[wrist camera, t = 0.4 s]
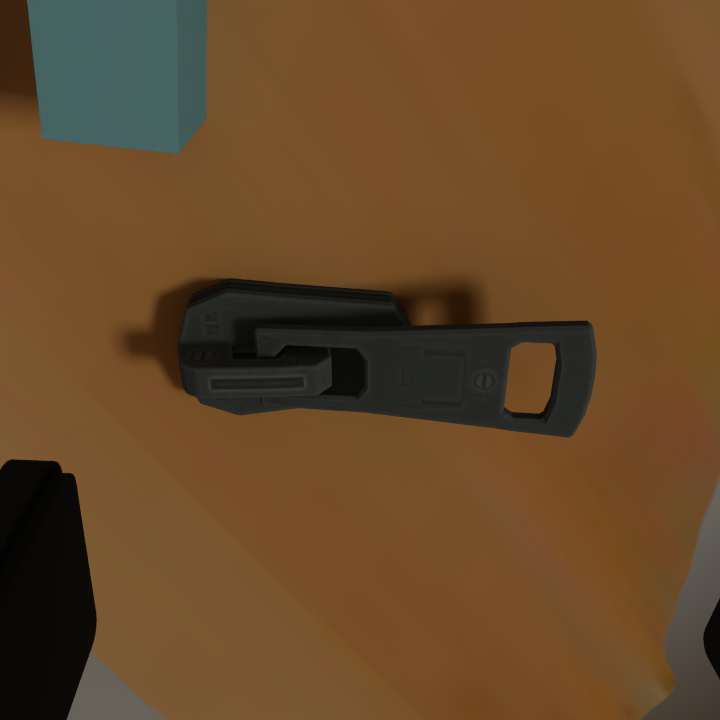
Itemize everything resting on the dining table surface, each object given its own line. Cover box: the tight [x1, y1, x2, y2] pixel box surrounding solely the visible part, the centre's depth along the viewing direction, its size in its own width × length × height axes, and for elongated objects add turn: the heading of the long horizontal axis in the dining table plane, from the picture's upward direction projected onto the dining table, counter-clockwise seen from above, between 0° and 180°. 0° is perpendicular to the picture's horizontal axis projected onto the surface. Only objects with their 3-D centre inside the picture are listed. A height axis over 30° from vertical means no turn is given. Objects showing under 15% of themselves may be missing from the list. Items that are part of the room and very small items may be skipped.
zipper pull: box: [178, 278, 597, 437], centre depth 43 cm, size 9×7×25 cm
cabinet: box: [27, 0, 207, 154], centre depth 32 cm, size 11×6×8 cm, turn 173°
